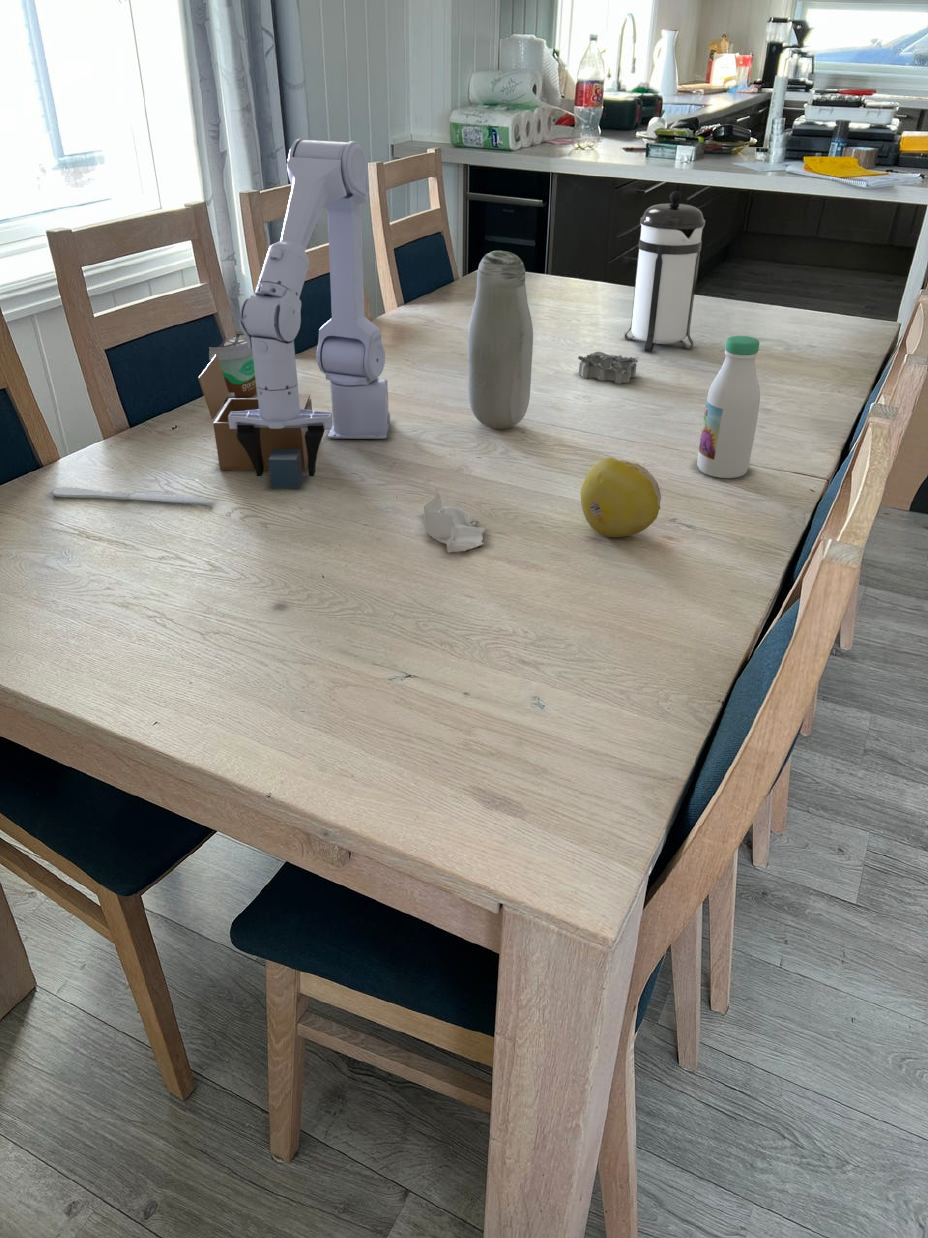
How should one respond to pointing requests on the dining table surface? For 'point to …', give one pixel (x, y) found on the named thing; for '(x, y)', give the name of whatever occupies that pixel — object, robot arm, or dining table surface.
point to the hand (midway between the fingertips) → (286, 473)
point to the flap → (213, 386)
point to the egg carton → (608, 367)
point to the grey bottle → (500, 342)
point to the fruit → (619, 498)
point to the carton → (284, 438)
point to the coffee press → (666, 273)
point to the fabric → (451, 526)
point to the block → (285, 468)
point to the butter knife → (127, 496)
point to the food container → (236, 366)
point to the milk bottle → (731, 412)
